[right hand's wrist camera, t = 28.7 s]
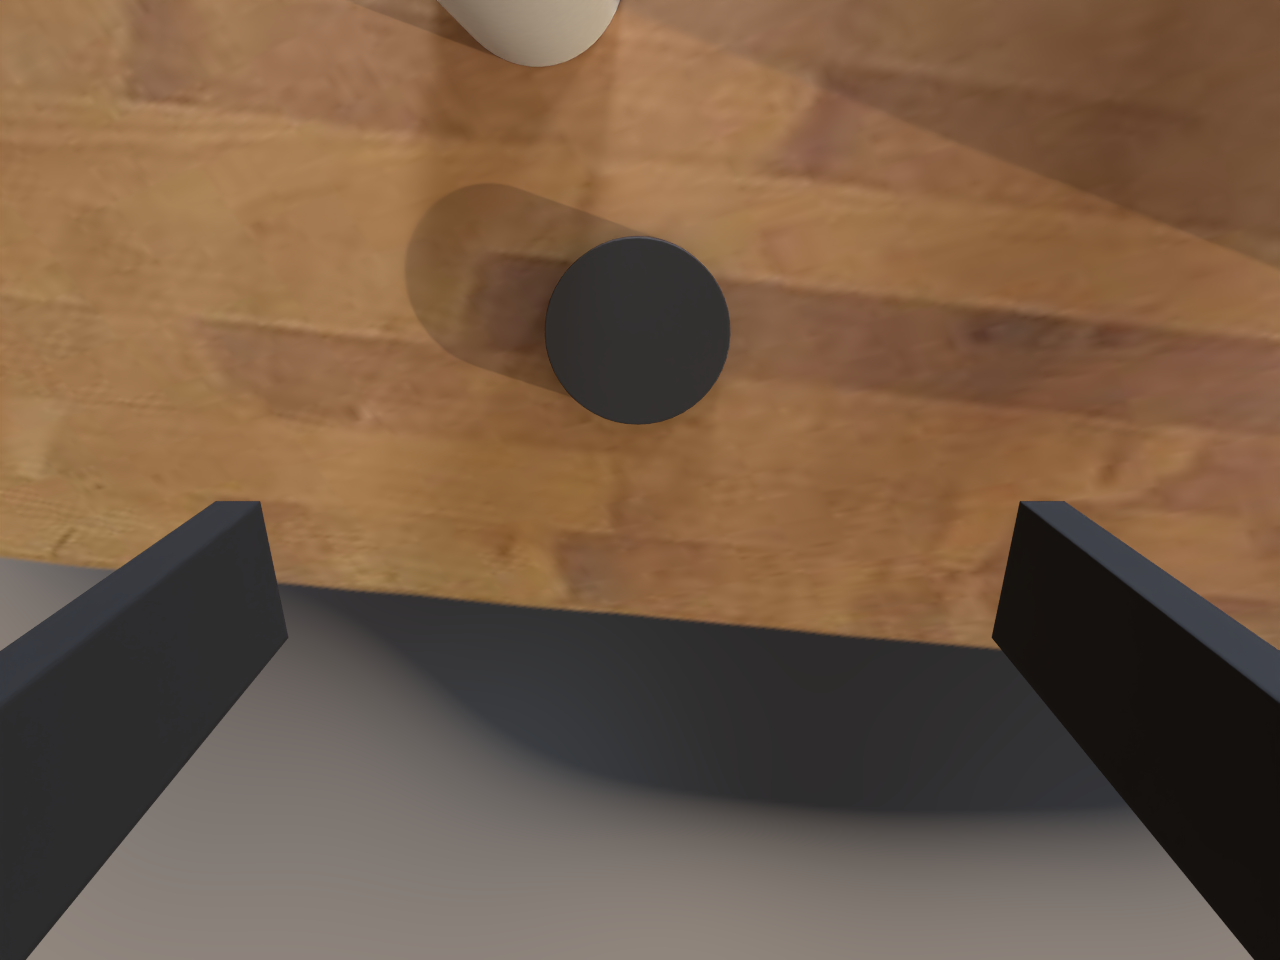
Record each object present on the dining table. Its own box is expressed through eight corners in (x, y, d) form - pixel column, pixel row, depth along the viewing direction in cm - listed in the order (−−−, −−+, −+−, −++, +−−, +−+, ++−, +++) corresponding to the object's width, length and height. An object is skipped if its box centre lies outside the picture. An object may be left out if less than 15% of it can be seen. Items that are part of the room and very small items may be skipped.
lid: (729, 235, 36) (734, 237, 34) (722, 414, 39) (726, 424, 38) (544, 236, 36) (539, 238, 34) (553, 415, 39) (549, 425, 38)
